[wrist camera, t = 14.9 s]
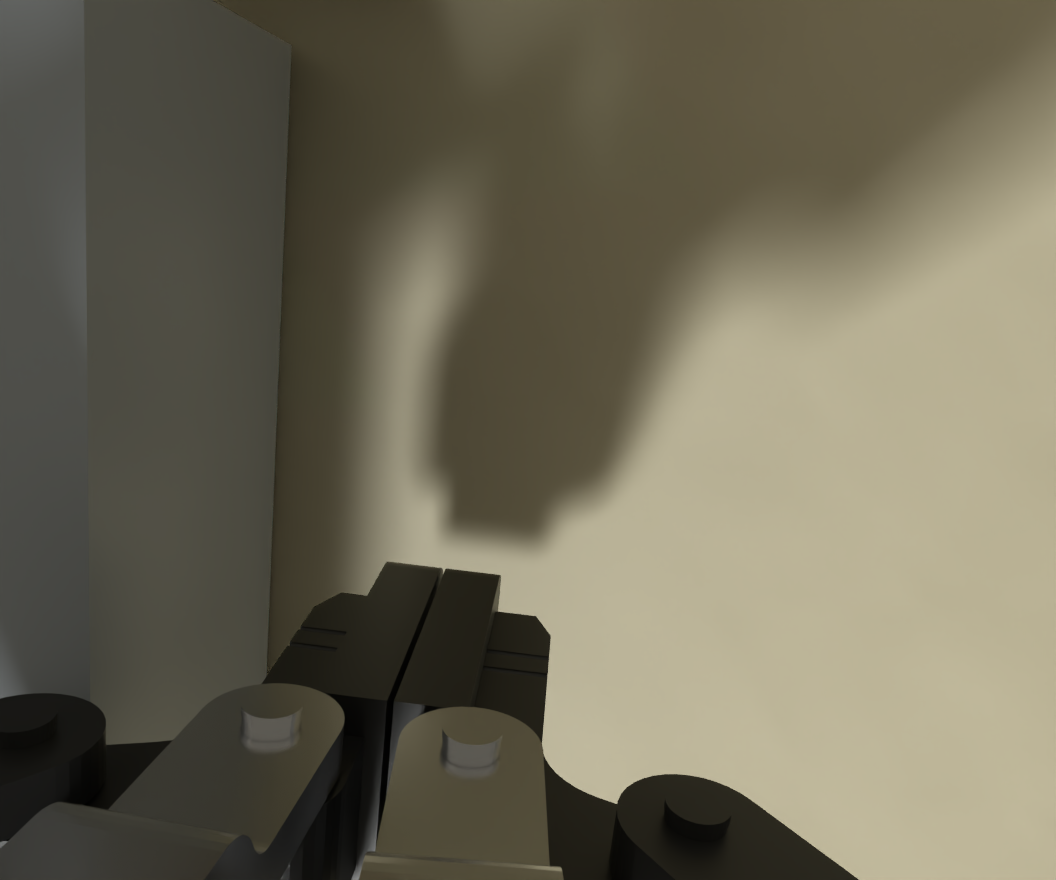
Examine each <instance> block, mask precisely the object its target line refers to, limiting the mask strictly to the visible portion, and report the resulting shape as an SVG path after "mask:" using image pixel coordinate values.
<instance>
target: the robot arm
mask: <svg viewBox="0 0 1056 880" xmlns="http://www.w3.org/2000/svg"><path fill="white" fill-rule="evenodd" d="M500 582H501V575H495V574H487V573H478V572H470V571H462V570H454V569H445V572H444V574H443V570H442V568H436V567H428V566H419V565H411V564H403V563H395V562H386V564H385V565H384V567H383V569H382V571H381V572H380V574H379V576H378V578H377V579H376V581H375V583H374V585H373V587H372V588H371V590H370V592H369V594H368V595H367V596H364V595H356V594H348V593H340V594H338V595H336V596H334V597H332V598H330V599H328V600H326V601H325V602H323V603H321V604H319V605H317V606H315V607H314V608H313V609H312V611H311V612H310V614H309V615H308V617H307V618H306V620H305V621H304V622H303V624H302V625H301V629H300V630H298V631H297V633H296V634H295V636H294V637H293V638H292V640H291V641H290V646H287V647H286V649H285V650H284V652H283V653H282V655H281V656H280V657H279V659H278V660H277V662H276V663H275V665H274V666H273V668H272V669H271V671H270V672H269V674H268V675H267V676H266V678H265V679H264V681H263V682H262V684H258V685H251V686H246V687H242V688H238V689H235V690H232V691H229V692H226V693H224V694H222V695H220V696H218V697H216V698H215V699H213V700H212V701H210V702H209V703H208V704H207V705H205V706H204V707H203V708H202V709H201V710H200V711H199V713H198V714H197V715H196V716H195V717H194V718H193V719H192V720H191V721H190V722H189V723H188V724H187V725H186V726H185V728H184V729H183V730H182V731H181V732H180V733H179V734H178V735H177V736H176V737H175V738H174V739H173V740H169V741H159V742H145V743H129V744H113V745H106V718H105V716H104V713H103V712H102V711H101V710H100V709H99V707H97V706H96V705H94V704H93V703H91V702H89V701H87V700H85V699H82V698H79V697H75V696H71V695H65V694H55V693H32V694H22V695H15V696H10V697H4V698H0V880H858V879H857V878H856V877H854V876H853V875H852V874H850V873H849V872H848V871H846V870H845V869H844V868H842V867H841V866H839V865H838V864H837V863H835V862H834V861H833V860H831V859H830V858H829V857H827V856H826V855H825V854H823V853H822V852H820V851H819V850H818V849H816V848H815V847H814V846H812V845H811V844H810V843H808V842H807V841H806V840H804V839H803V838H801V837H800V836H799V835H797V834H796V833H795V832H793V831H792V830H791V829H789V828H788V827H787V826H785V825H784V824H782V823H781V822H780V821H778V820H777V819H776V818H774V817H773V816H772V815H770V814H769V813H767V812H766V811H765V810H763V809H762V808H761V807H759V806H758V805H757V804H755V803H754V802H753V801H751V800H750V799H748V798H747V797H745V796H744V795H742V794H741V793H739V792H737V791H735V790H733V789H731V788H729V787H727V786H725V785H722V784H720V783H717V782H714V781H711V780H707V779H704V778H699V777H694V776H688V775H678V774H665V775H657V776H651V777H647V778H644V779H641V780H639V781H637V782H634V783H633V784H631V785H630V786H629V787H627V788H626V789H625V790H624V791H623V793H622V794H621V796H620V798H619V800H618V803H617V804H615V803H612V802H609V801H606V800H603V799H600V798H597V797H595V796H592V795H590V794H587V793H585V792H583V791H581V790H579V789H577V788H575V787H574V786H572V785H571V784H569V783H568V782H566V781H565V780H563V779H562V778H561V777H560V776H559V775H558V774H556V773H555V772H554V770H553V769H552V768H551V767H550V766H549V764H548V762H547V761H546V759H545V757H544V754H543V747H542V735H543V723H544V711H545V699H546V686H547V674H548V662H549V661H548V660H549V650H550V638H551V636H550V634H549V633H548V632H547V630H546V629H545V628H544V626H543V625H542V624H541V622H540V621H539V620H538V618H537V617H536V616H529V615H521V614H513V613H504V612H498V604H499V594H500Z"/></svg>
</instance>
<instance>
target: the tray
mask: <svg viewBox="0 0 1056 880" xmlns="http://www.w3.org/2000/svg"><path fill="white" fill-rule="evenodd" d="M291 49H292V45H290V44H288V43H287V42H285V41H283V40H281V39H280V38H278V37H276V36H274V35H273V34H271V33H269V32H267V31H265V30H264V29H262V28H260V27H258V26H257V25H255V24H253V23H251V22H250V21H248V20H246V19H244V18H243V17H241V16H239V15H237V14H236V13H234V12H232V11H230V10H229V9H227V8H225V7H223V6H221V5H220V4H218V3H216V2H214V1H213V0H0V698H4V697H10V696H15V695H22V694H32V693H55V694H65V695H71V696H75V697H79V698H82V699H85V700H87V701H89V702H91V703H93V704H94V705H96V706H97V707H99V709H100V710H101V711H102V712H103V713H104V716H105V718H106V745H113V744H129V743H145V742H159V741H169V740H173V739H174V738H175V737H176V736H177V735H178V734H179V733H180V732H181V731H182V730H183V729H184V728H185V726H186V725H187V724H188V723H189V722H190V721H191V720H192V719H193V718H194V717H195V716H196V715H197V714H198V713H199V711H200V710H201V709H202V708H203V707H204V706H205V705H207V704H208V703H209V702H210V701H212V700H213V699H215V698H216V697H218V696H220V695H222V694H224V693H226V692H229V691H232V690H235V689H238V688H242V687H246V686H251V685H258V684H262V682H263V681H264V679H265V678H266V676H267V652H268V627H269V602H270V576H271V551H272V526H273V501H274V476H275V451H276V426H277V400H278V375H279V350H280V325H281V300H282V275H283V250H284V225H285V199H286V174H287V149H288V124H289V99H290V74H291Z"/></svg>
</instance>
